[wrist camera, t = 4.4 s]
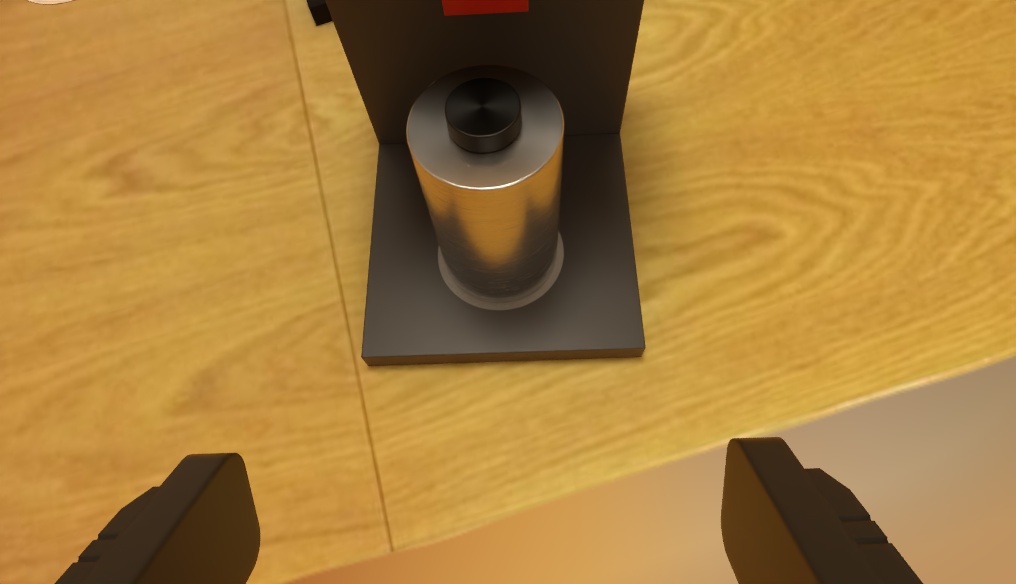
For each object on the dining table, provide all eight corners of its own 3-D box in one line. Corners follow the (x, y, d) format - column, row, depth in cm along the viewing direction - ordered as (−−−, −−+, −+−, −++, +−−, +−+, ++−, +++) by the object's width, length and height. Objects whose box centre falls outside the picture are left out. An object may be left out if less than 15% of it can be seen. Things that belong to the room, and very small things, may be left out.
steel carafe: (563, 210, 36) (573, 51, 25) (549, 310, 33) (554, 183, 22) (456, 198, 36) (419, 39, 25) (434, 296, 34) (383, 165, 23)
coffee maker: (641, 357, 33) (763, 100, 15) (368, 366, 34) (168, 128, 16) (610, 87, 41) (666, -294, 23) (389, 98, 42) (272, -267, 24)
